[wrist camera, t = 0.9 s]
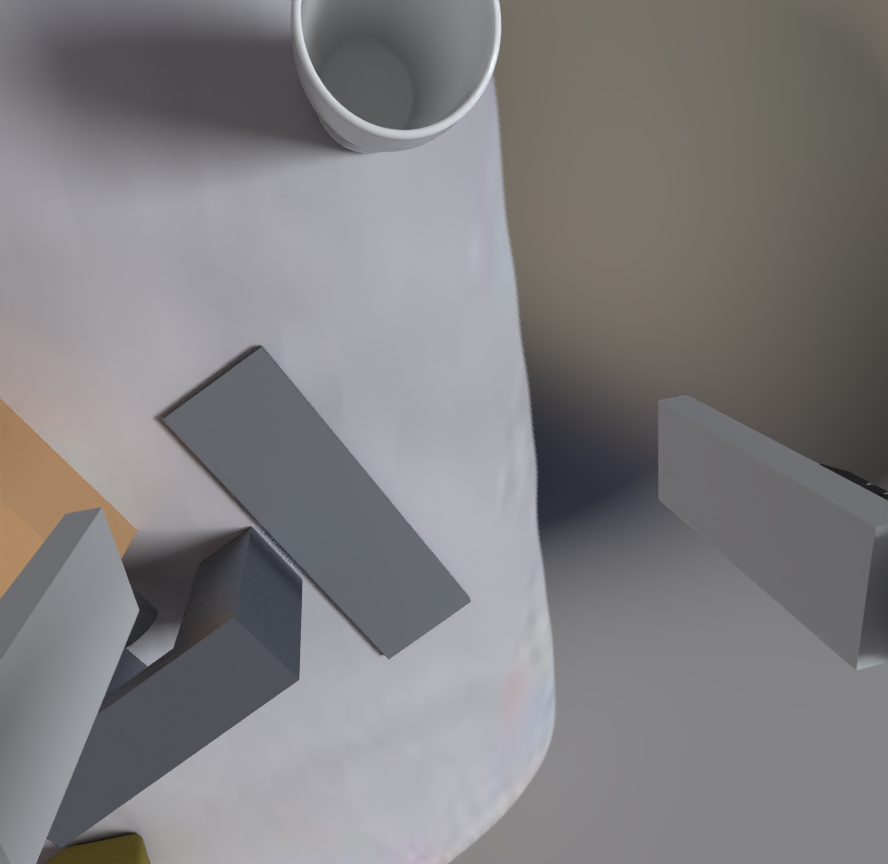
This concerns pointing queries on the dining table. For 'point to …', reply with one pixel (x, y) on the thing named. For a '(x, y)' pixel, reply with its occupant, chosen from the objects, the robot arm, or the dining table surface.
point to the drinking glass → (393, 66)
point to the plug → (47, 505)
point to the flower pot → (105, 852)
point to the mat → (317, 501)
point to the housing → (190, 682)
